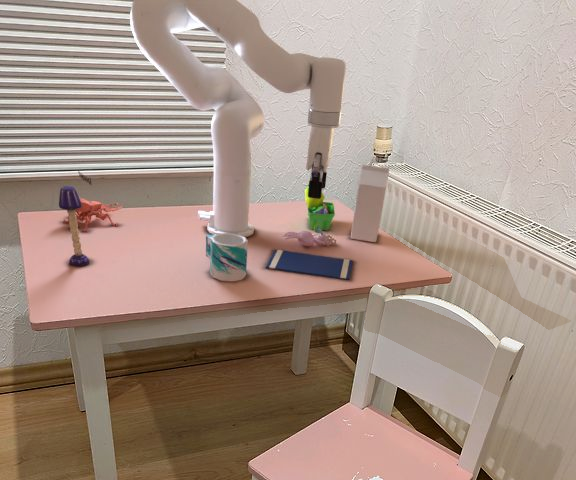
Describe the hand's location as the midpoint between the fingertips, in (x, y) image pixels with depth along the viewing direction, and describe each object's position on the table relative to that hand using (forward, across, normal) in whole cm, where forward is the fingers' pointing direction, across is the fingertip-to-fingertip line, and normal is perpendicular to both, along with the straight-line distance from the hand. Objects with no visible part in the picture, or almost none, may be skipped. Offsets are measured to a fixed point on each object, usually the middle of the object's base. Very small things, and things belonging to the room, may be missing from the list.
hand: (316, 192), depth 144 cm
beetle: (+13, +5, -58) cm, 59 cm away
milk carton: (+14, -13, +13) cm, 23 cm away
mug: (+14, +24, -18) cm, 33 cm away
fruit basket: (+14, -18, -1) cm, 23 cm away
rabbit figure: (+14, 0, -1) cm, 14 cm away
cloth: (+14, +13, +1) cm, 19 cm away
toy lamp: (+14, +31, -50) cm, 60 cm away
